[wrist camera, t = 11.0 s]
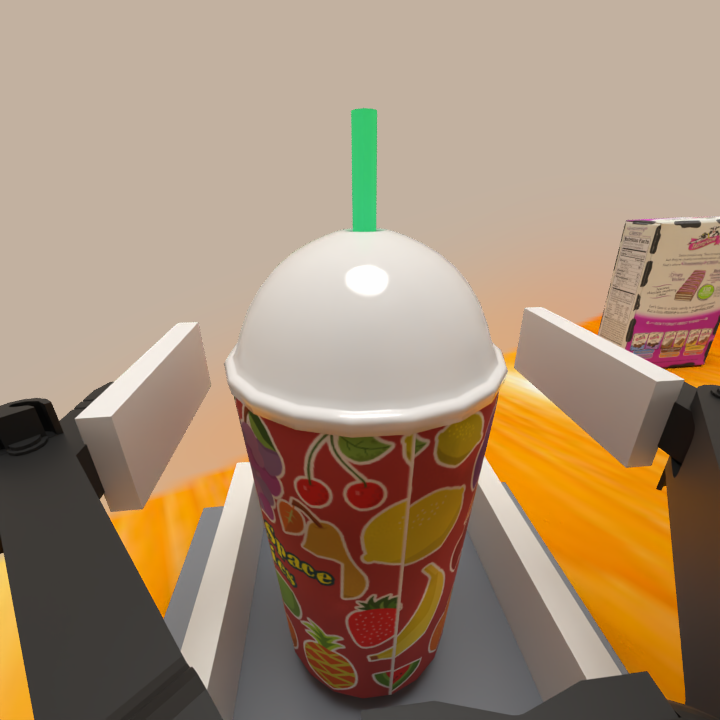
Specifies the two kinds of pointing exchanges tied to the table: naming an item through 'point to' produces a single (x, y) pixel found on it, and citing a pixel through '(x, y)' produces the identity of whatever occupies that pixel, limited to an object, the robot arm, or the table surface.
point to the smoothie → (365, 437)
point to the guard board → (457, 644)
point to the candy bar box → (665, 290)
